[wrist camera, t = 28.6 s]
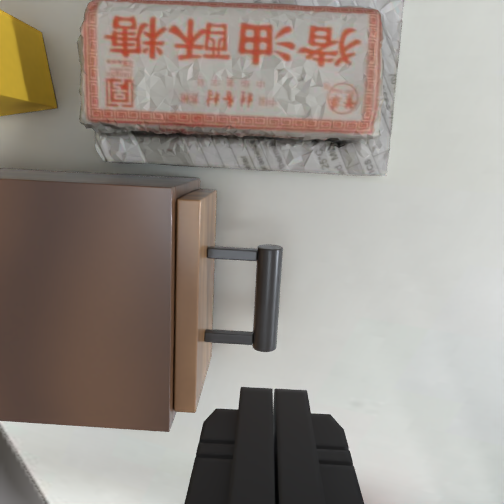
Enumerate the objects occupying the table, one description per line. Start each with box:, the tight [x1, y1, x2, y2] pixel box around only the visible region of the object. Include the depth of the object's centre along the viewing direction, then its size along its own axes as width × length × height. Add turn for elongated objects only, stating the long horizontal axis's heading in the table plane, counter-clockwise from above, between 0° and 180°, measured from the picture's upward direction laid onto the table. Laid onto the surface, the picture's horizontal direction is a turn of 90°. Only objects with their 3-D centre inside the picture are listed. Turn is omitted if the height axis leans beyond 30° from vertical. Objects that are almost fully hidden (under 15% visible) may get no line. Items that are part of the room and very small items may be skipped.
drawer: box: [173, 189, 283, 413], centre depth 26 cm, size 17×11×7 cm
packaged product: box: [77, 0, 404, 176], centre depth 25 cm, size 18×5×10 cm
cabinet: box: [0, 168, 200, 432], centre depth 26 cm, size 14×13×9 cm
